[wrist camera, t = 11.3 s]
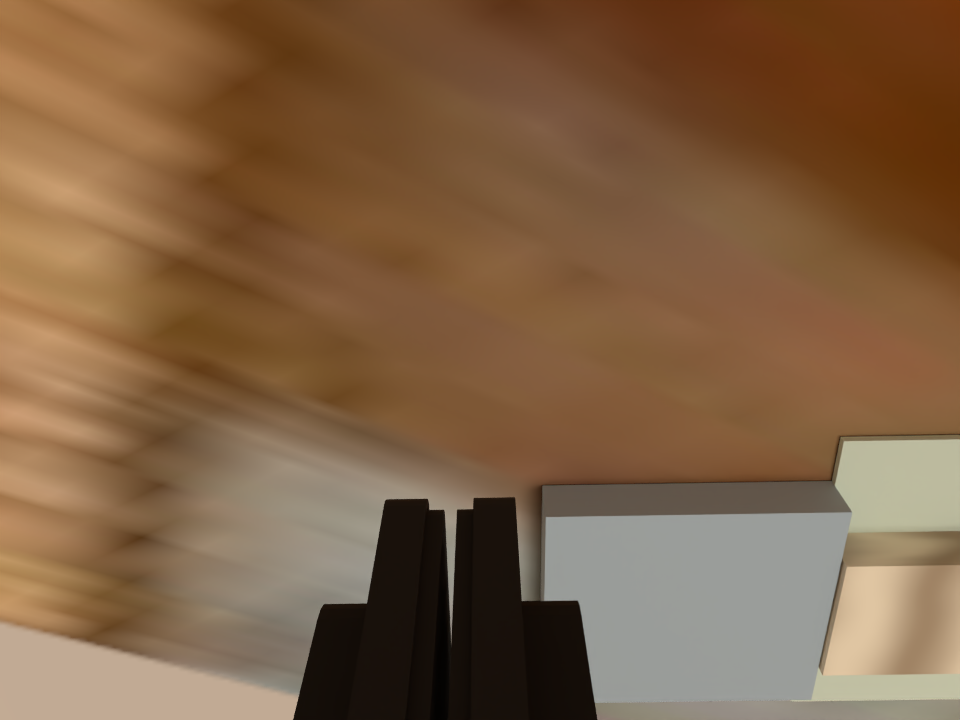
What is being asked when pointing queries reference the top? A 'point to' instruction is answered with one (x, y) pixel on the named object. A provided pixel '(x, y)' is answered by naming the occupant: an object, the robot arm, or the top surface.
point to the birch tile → (895, 606)
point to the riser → (697, 584)
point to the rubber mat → (896, 508)
